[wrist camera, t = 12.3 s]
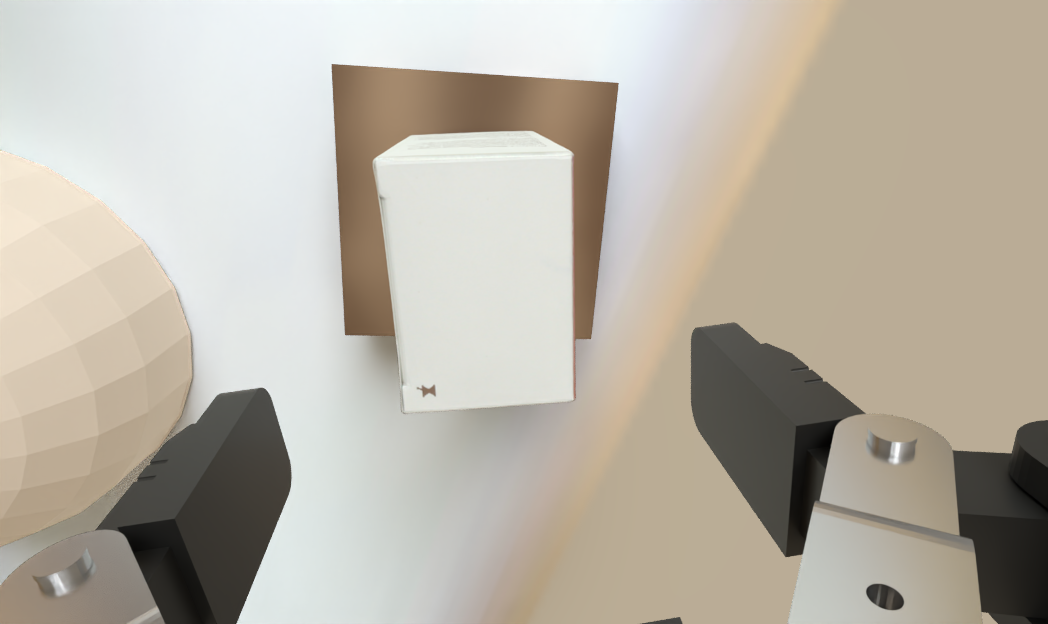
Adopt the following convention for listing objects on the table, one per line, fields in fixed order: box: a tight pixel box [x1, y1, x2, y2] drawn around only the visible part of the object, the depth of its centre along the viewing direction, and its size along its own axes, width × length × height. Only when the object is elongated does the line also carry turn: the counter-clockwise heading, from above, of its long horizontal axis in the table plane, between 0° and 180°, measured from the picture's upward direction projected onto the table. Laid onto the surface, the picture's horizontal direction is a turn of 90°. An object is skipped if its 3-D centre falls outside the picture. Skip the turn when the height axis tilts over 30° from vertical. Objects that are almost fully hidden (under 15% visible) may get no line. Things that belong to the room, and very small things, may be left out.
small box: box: [373, 131, 576, 414], centre depth 22 cm, size 8×6×10 cm
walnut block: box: [332, 64, 619, 339], centre depth 29 cm, size 12×12×5 cm
